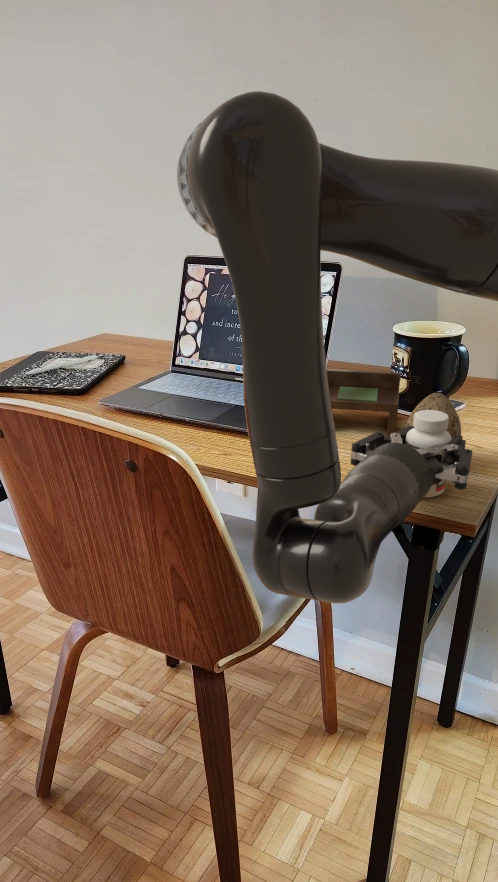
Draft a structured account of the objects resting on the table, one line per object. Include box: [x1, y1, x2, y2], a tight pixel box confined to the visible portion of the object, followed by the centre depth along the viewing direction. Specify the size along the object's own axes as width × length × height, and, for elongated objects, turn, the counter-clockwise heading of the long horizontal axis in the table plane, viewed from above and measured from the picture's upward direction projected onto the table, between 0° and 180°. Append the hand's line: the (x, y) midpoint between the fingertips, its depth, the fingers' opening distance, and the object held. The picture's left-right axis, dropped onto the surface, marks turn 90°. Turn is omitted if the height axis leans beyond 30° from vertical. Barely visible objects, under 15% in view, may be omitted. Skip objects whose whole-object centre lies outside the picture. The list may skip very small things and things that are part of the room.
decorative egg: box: [405, 392, 462, 439], centre depth 90 cm, size 7×7×10 cm
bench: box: [326, 368, 402, 436], centre depth 105 cm, size 12×8×8 cm, turn 76°
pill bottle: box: [405, 410, 452, 498], centre depth 84 cm, size 5×5×10 cm
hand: (434, 437), depth 85 cm, fingers closed on pill bottle, 5 cm apart
